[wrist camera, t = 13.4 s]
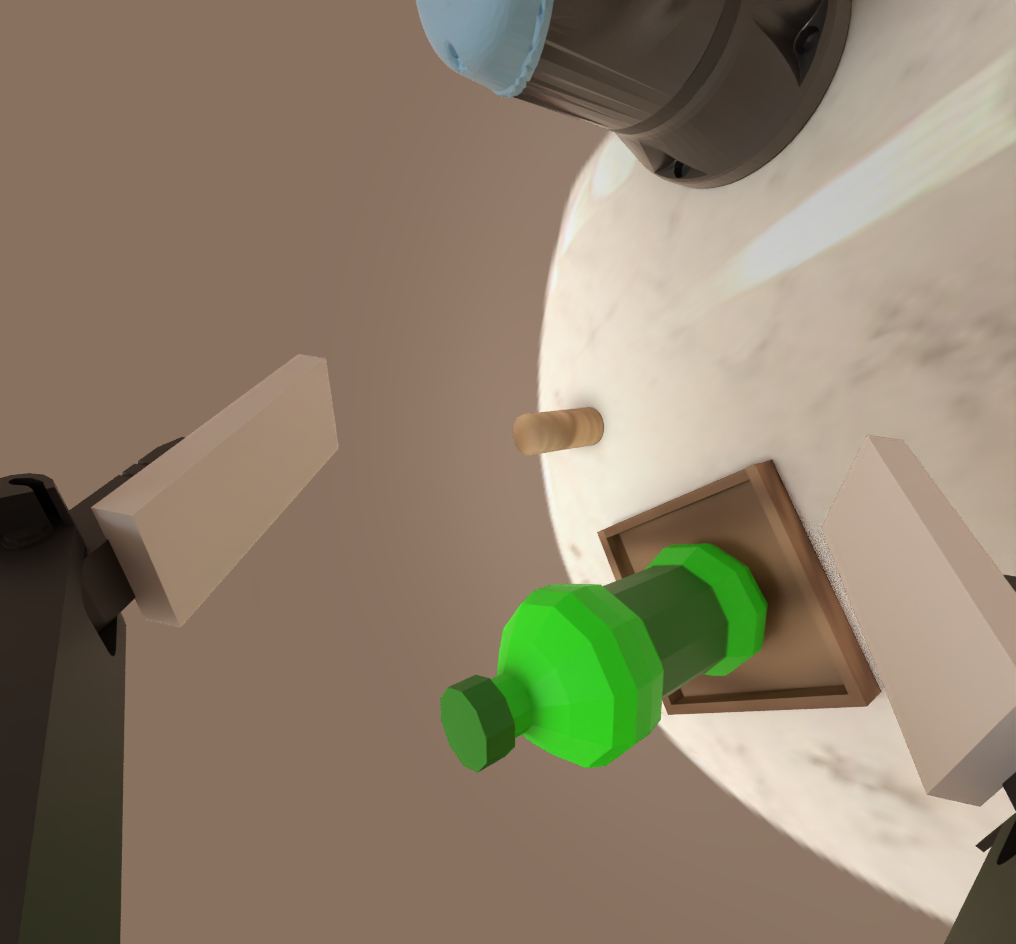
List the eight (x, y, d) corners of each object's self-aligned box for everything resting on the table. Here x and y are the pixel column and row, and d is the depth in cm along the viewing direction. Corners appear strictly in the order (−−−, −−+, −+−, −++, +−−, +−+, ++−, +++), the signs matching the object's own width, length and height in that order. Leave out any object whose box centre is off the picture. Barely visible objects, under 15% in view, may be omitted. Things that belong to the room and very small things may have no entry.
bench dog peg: (571, 417, 55) (508, 425, 50) (594, 400, 52) (531, 406, 47) (584, 450, 54) (521, 461, 49) (609, 435, 51) (545, 445, 46)
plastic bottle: (798, 547, 39) (527, 681, 23) (782, 682, 41) (526, 885, 26) (674, 514, 46) (409, 599, 31) (667, 630, 49) (416, 762, 33)
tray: (614, 527, 52) (597, 532, 51) (771, 460, 40) (755, 464, 38) (684, 703, 49) (668, 714, 48) (880, 691, 36) (867, 706, 35)
